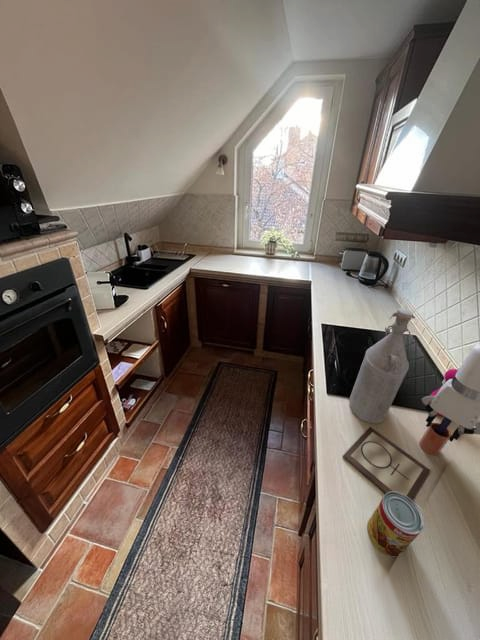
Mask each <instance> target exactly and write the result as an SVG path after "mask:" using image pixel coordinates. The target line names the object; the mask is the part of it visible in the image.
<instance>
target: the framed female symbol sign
mask: <svg viewBox="0 0 480 640" xmlns="http://www.w3.org/2000/svg"><path fill="white" fill-rule="evenodd" d="M342 458H343V459H344V460H345V461H346V462H348V463H349V464H350V465H351V466H353V468H354V469H356V470H357V471H358V472H359V473H360V474H362V475H363V476H364V477H365V478H366V479H368V481H370V482H371V483H372V484H373V485H374V486H376V488H378V489H379V490H380V491H381V492H383V494H384V495H385V494H386V493H388V492H391V491H395V492H399V493H402V494H404V495H406V496H407V497H409V498H410V499H411V500H412V501H413V502H414V499H415V498H416V496H417V494H418V492H419V491H420V489H421V487H422V486H423V485H424V483H425V481H426V479H427V478H428V475H429V474H430V472H431V469H430V468H429V467H427V466H425V465H424V464H423V463H422V462H420V461H418V460H417V459H416V458H414V457H413V456H411V455H410V454H409V453H407V452H406V451H405V450H403V449H402V448H401V447H399V446H398V445H397V444H395V442H394V443H393V442H392V441H391V440H389V439H388V438H386V437H385V436H384V435H382V434H381V433H380V432H379V431H377V430H375V429H374V428H373V427H371V426H369V427H368V428H367V429H366V430H365V431H364V433H362V435H361V436H360V437H359V438H358V439H357V440H356V441H355V442H354V443H353V444H352V445H351V446H350V447H349V448H348V450H346V451H345V452H344V453H343V454H342Z"/></svg>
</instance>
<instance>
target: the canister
mask: <svg viewBox="0 0 480 640" xmlns="http://www.w3.org/2000/svg"><path fill="white" fill-rule="evenodd" d="M392 318H395V321H394V322H393V323H392V324H391V325H388V326H385V328H384V331H385V336H384V337H383V338H382V339H380V340H378V341H377V342H376V343H375V344H373V345H372V346H370V347H368V348H367V349H366V351H365V354H364V357H363V360H362V363H361V365H360V369H359V371H358V373H357V377H356V380H355V382H354V385H353V387H352V391H351V394H350V396H349V400H348V402H349V407H350V410H351V411H352V412H353V414H354V415H355V416H356V417H357V418H358V419H359V420H362V421H364V422H366V423H369V424H380V423H383V422H384V421H385V420H386V417H387V414H388V412H389V410H390V408H391V406H392V404H393V402H394V400H395V398H396V397H397V393H398V392H399V390H400V387H401V385H402V383H403V381H404V379H405V377H406V375H407V373H408V371H409V368H410V364H409V361H408V357H407V351H406V348H405V347H406V346H405V342H404V341H405V340H404V337H403V335H404V333H405V332H408V335H407V336H406V341H409V340H410V339H411V338H413V335H414V334H411V331H410V330H409V329H408V324H409V322H410V321H411V320H412V319H414V320H416V316H415V315H414V313H413V312H412V311H410V310H409V309H405V308H403V307H402V308H401V307H399V308H397V311H396V312H394V313H392V315H391V316H390V318H389V320H391V319H392ZM414 325H416V323H415V322H414Z"/></svg>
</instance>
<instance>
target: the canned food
mask: <svg viewBox="0 0 480 640" xmlns="http://www.w3.org/2000/svg"><path fill="white" fill-rule="evenodd" d="M424 528H425V519H424V514H423V513H422V511H421V508H420V507H419V506H418V505H417V504H416V502H415V501H414V500H413V501H412V500H411V499H410V498H409V497H407V496H406V495H404V494H402V493H399V492H395V491H391V492H388V493H386V494H385V493H384V495H383V497H382V498H381V500H380V501H379V503H378V504H377V506H376V508H375V509H374V511H373V512H372V514H371V516H370V517H369V519H368V521H367V525H366V529H367V530H366V531H367V534H368V537H369V539H370V541H371V540H372V541H371V543H372V544H373V545H374V547H375V548H376V547H377V548H376V549H377V550H378V551H379V552H381V553H382V552H383V553H382V554H384V553H385V554H384V555H386V556H388V555H389V557H393V556H396V557H398V556H399V555H400V554H402V553H403V552H404V551H405V550H406V549H407V548H409V545H411V544H412V542H414V540H415V539H416V538H417V537H419V535H420V534H421V533H422V532H423V530H424Z"/></svg>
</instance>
